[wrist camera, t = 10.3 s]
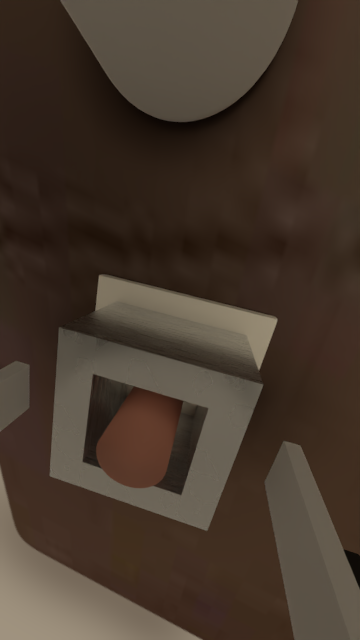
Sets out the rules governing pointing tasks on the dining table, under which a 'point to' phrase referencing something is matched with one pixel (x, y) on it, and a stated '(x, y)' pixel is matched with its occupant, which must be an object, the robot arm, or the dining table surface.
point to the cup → (183, 49)
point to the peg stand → (153, 408)
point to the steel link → (161, 377)
